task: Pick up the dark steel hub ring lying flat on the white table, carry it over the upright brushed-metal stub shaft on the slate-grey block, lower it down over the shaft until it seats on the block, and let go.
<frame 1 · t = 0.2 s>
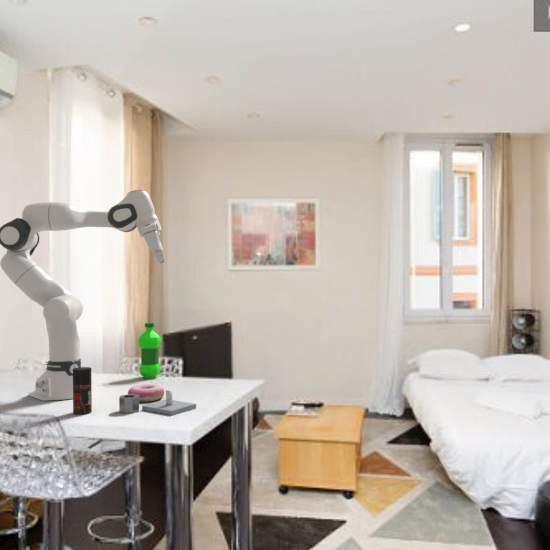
hand: (161, 262, 217), 52 cm above the table, tool tilted 20°, fingers open, 8 cm apart
donut: (145, 400, 206), on the table
shaft block: (169, 409, 190), on the table
hub: (129, 410, 188), on the table
deodorant: (82, 413, 186), on the table
plastic bottle: (150, 378, 252), on the table
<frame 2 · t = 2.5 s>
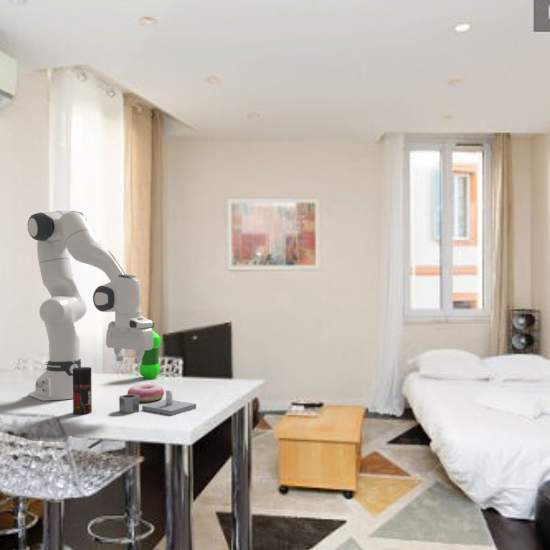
hand: (129, 362, 188), 17 cm above the table, tool pointing down, fingers open, 8 cm apart
nothing on the table moved.
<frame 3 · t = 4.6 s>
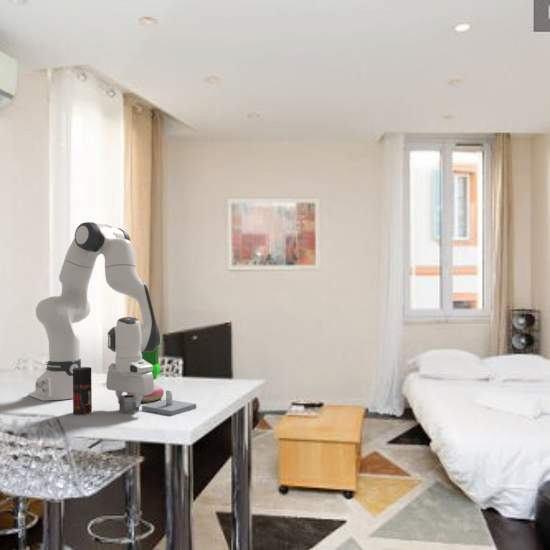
hand: (129, 405, 188), 2 cm above the table, tool pointing down, fingers closed on hub, 6 cm apart
hub: (129, 410, 188), on the table, touching gripper
everything else where it was.
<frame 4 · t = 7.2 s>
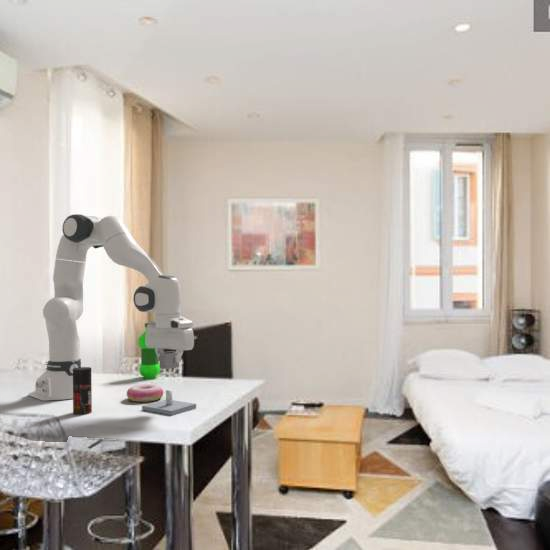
hand: (169, 361, 190), 16 cm above the table, tool pointing down, fingers closed on hub, 6 cm apart
hub: (169, 367, 190), point 15 cm above the table, touching gripper
everything else where it was.
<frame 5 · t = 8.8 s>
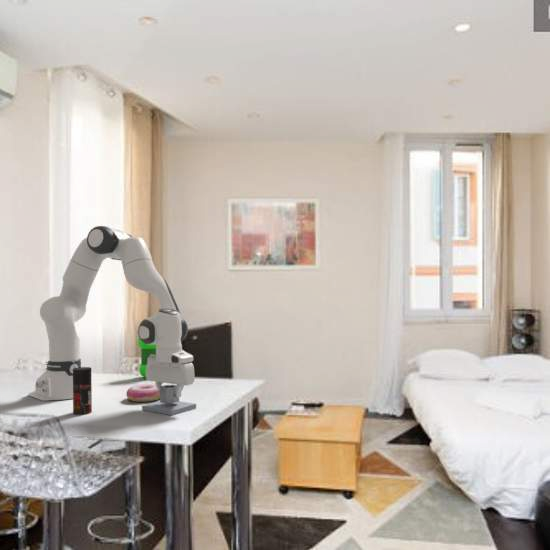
hand: (169, 395, 190), 5 cm above the table, tool pointing down, fingers closed on hub, 6 cm apart
hub: (169, 401, 190), point 3 cm above the table, touching gripper
everything else where it was.
when the fingers open (4 cm above the table, at t = 9.8 s): hub stays where it is, resting on shaft block.
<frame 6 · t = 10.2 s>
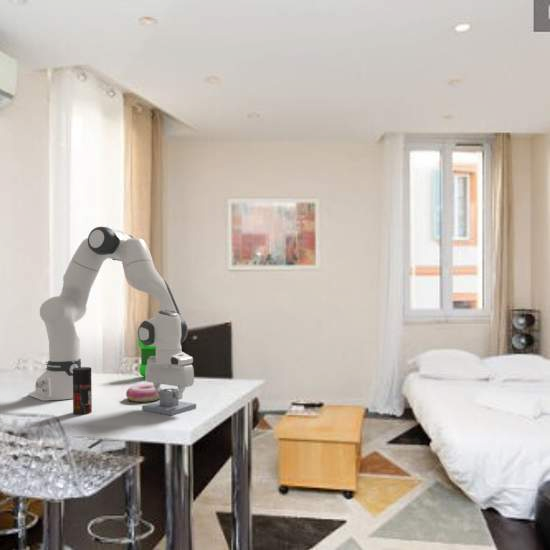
hand: (169, 397, 190), 4 cm above the table, tool pointing down, fingers open, 8 cm apart
hub: (169, 404, 190), point 1 cm above the table, touching shaft block
everything else where it was.
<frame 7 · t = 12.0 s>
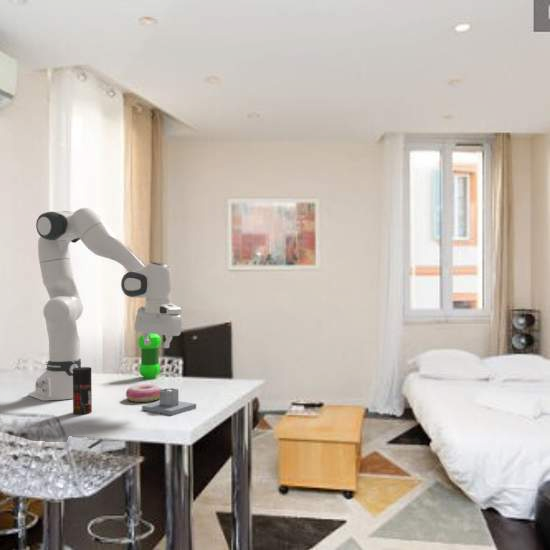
hand: (156, 346, 195), 21 cm above the table, tool pointing down, fingers open, 8 cm apart
nothing on the table moved.
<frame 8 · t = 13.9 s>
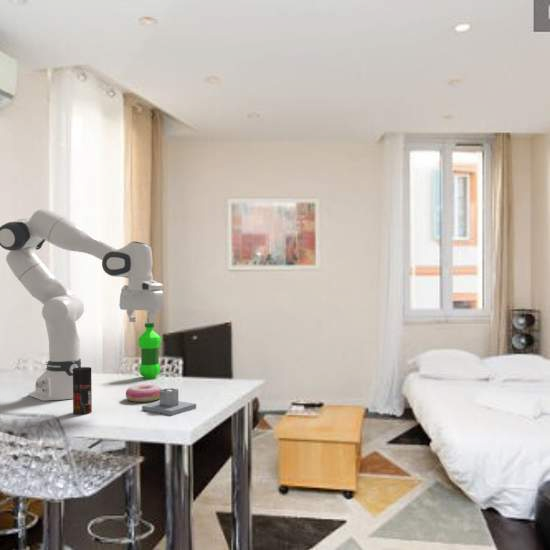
hand: (141, 322, 203), 29 cm above the table, tool pointing down, fingers open, 8 cm apart
nothing on the table moved.
at the end: hub 0.1 cm off-centre on the shaft block, point 1.5 cm above the shaft block's base; hub tilted 0°; the gripper is holding nothing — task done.
